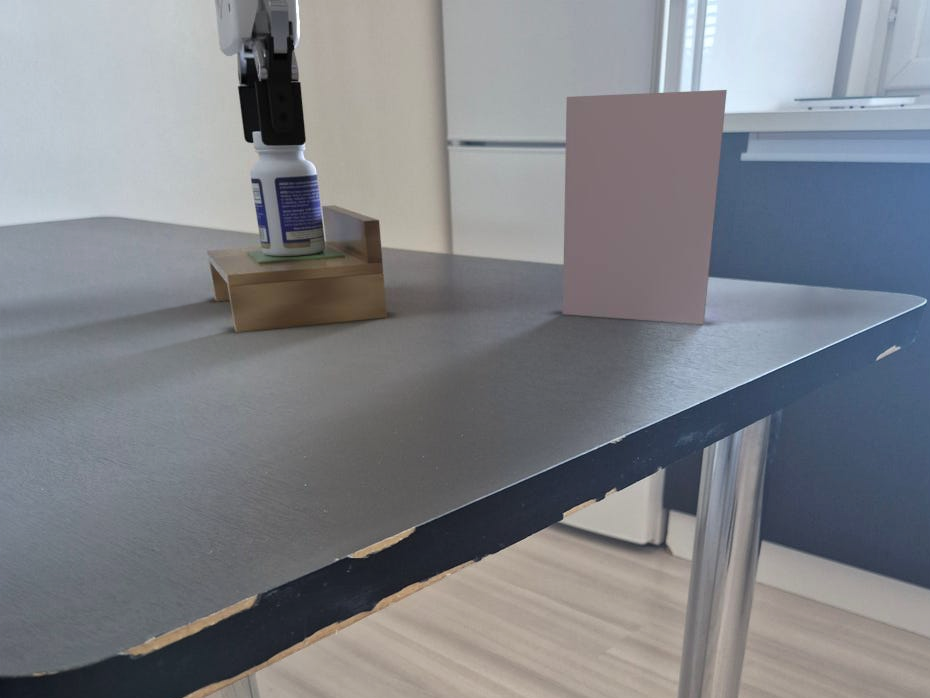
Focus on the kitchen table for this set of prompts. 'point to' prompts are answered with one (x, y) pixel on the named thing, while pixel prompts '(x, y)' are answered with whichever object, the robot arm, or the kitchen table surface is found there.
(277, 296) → the shelf
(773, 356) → the kitchen table surface
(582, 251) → the greeting card
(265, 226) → the pill bottle
